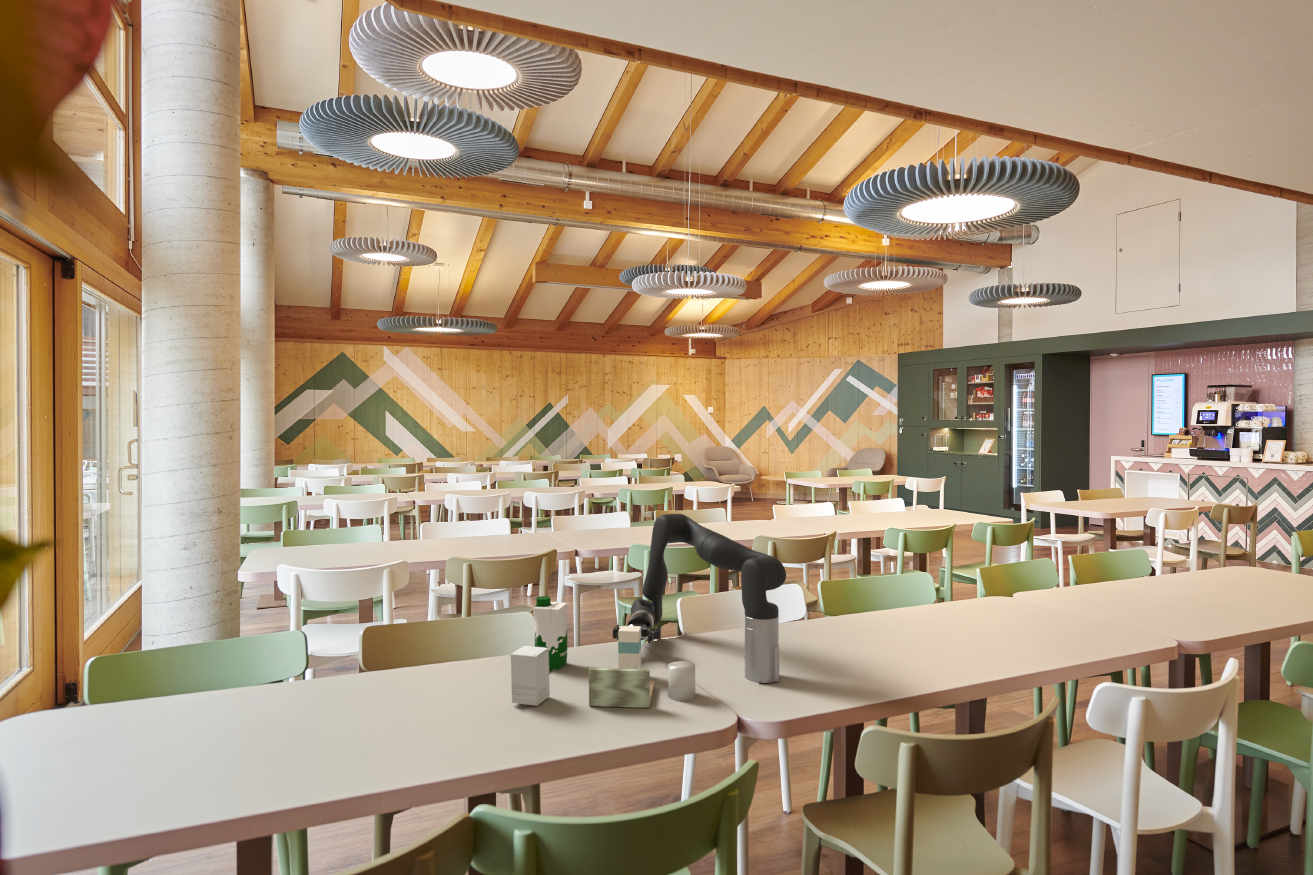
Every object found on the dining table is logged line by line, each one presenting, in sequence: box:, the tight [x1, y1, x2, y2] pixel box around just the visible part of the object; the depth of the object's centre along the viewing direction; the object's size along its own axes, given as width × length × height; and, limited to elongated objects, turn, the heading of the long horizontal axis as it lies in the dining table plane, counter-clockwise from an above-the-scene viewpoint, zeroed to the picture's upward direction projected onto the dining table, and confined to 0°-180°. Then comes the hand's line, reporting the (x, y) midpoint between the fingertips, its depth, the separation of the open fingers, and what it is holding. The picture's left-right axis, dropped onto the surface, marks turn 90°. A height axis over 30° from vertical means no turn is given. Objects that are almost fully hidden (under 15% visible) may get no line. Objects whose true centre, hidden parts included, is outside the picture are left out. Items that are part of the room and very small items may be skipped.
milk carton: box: [532, 595, 568, 672], centre depth 223 cm, size 9×9×20 cm
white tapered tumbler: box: [667, 660, 696, 702], centre depth 199 cm, size 7×7×8 cm
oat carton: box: [617, 625, 642, 669], centre depth 212 cm, size 6×6×14 cm
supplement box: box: [510, 645, 551, 707], centre depth 196 cm, size 7×7×13 cm
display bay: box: [588, 667, 656, 709], centre depth 198 cm, size 15×14×9 cm
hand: (634, 639), depth 224 cm, fingers open, 8 cm apart
